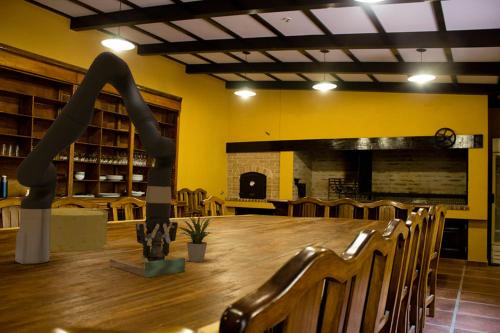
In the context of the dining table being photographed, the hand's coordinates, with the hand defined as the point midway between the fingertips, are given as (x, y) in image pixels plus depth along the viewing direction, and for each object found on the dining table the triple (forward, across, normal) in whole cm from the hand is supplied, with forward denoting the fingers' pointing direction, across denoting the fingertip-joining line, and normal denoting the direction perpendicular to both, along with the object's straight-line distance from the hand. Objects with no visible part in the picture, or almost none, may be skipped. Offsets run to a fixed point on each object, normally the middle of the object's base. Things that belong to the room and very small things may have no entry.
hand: (156, 256), depth 128 cm
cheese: (+5, +2, +60) cm, 60 cm away
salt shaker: (+3, 0, 0) cm, 3 cm away
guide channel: (+4, 0, +6) cm, 7 cm away
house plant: (+5, +22, +7) cm, 24 cm away
